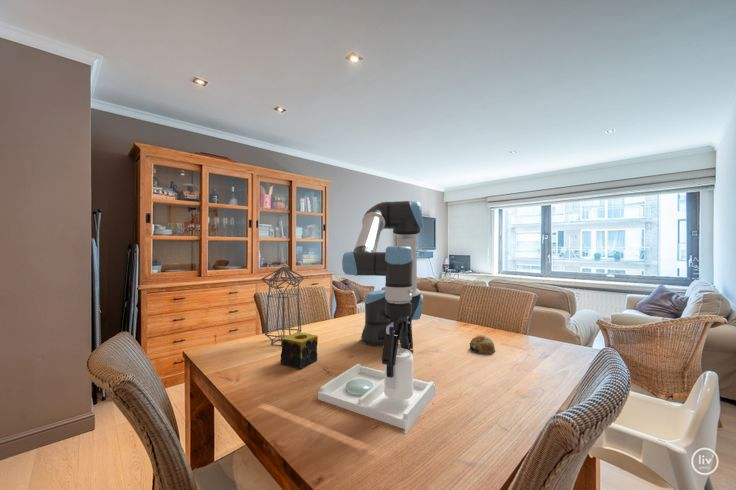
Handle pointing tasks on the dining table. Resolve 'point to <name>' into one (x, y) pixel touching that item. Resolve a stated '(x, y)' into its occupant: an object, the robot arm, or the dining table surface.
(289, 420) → the dining table surface
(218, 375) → the dining table surface
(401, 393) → the beverage can
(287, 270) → the geometric lantern
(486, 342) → the bread roll
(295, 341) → the candle
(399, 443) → the dining table surface
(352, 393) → the pale green smooth oval
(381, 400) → the divided white tray
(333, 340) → the dining table surface
